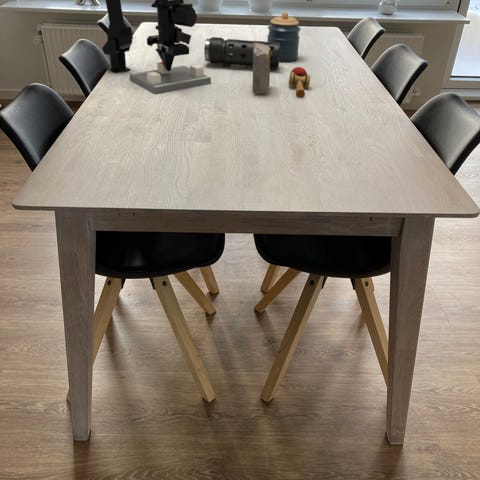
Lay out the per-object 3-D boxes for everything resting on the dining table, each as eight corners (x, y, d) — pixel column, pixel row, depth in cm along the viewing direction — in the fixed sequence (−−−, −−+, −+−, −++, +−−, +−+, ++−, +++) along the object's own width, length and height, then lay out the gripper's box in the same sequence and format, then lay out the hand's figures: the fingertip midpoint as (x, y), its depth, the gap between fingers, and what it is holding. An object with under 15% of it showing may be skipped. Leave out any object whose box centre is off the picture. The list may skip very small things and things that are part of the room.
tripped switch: (157, 71, 184) (157, 61, 182) (165, 70, 185) (164, 60, 184) (163, 74, 181) (162, 64, 179) (170, 72, 183) (170, 63, 181)
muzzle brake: (277, 73, 195) (279, 45, 189) (203, 68, 198) (203, 39, 192) (279, 66, 203) (281, 39, 197) (208, 61, 206) (208, 34, 200)
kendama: (313, 102, 173) (309, 78, 187) (312, 84, 169) (308, 61, 183) (290, 105, 174) (288, 81, 188) (288, 87, 170) (286, 64, 184)
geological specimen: (267, 96, 172) (270, 49, 164) (249, 94, 173) (251, 48, 165) (270, 86, 181) (273, 41, 173) (252, 85, 182) (254, 40, 173)
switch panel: (129, 79, 182) (128, 65, 179) (183, 70, 194) (183, 56, 191) (155, 94, 170) (154, 78, 168) (210, 83, 182) (210, 69, 179)
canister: (298, 63, 208) (303, 16, 198) (266, 62, 207) (269, 14, 198) (296, 54, 218) (300, 9, 209) (265, 53, 218) (268, 8, 208)
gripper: (202, 25, 170) (202, 74, 179) (173, 16, 182) (174, 61, 191) (173, 29, 164) (174, 79, 173) (144, 19, 176) (147, 65, 185)
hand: (168, 70), depth 181 cm, fingers closed
